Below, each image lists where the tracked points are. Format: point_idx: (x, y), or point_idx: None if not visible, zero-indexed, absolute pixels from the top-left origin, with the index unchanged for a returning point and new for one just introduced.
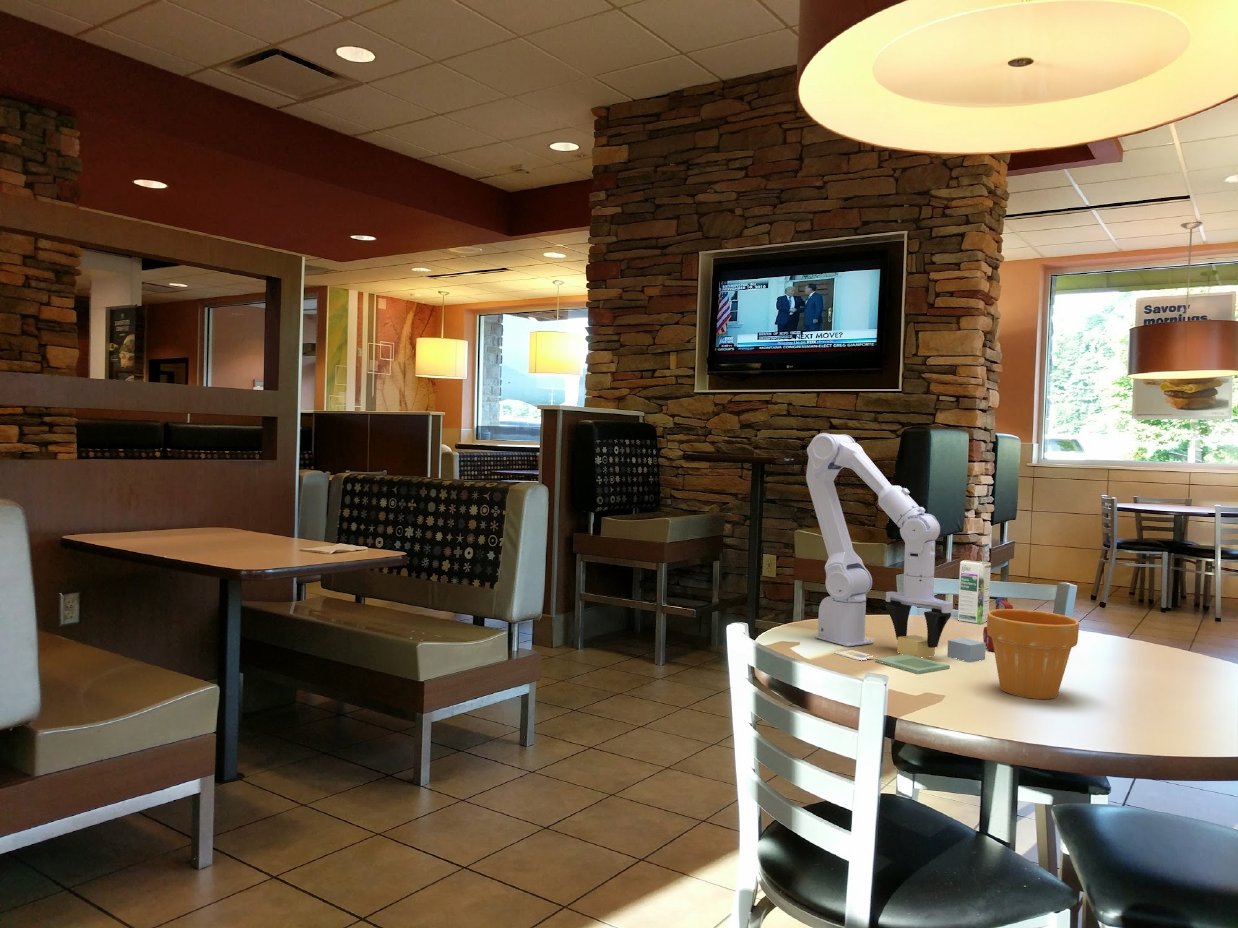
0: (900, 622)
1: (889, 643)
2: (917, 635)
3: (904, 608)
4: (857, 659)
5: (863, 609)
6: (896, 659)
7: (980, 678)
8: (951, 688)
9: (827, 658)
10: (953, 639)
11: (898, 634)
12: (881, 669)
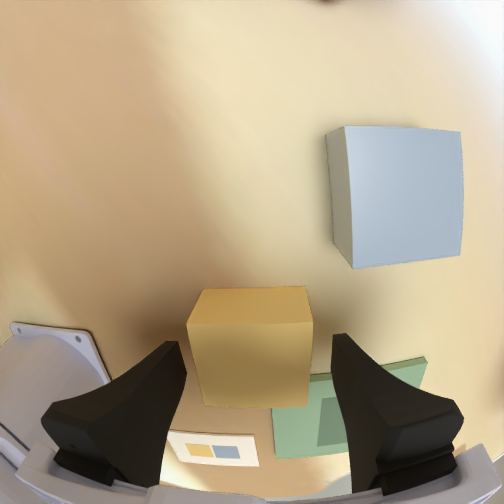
0: (159, 416)
1: (88, 279)
2: (203, 326)
3: (127, 454)
4: (247, 465)
5: (51, 441)
6: (306, 435)
7: (493, 345)
8: (466, 425)
9: (216, 481)
10: (352, 222)
11: (181, 391)
12: (329, 466)
